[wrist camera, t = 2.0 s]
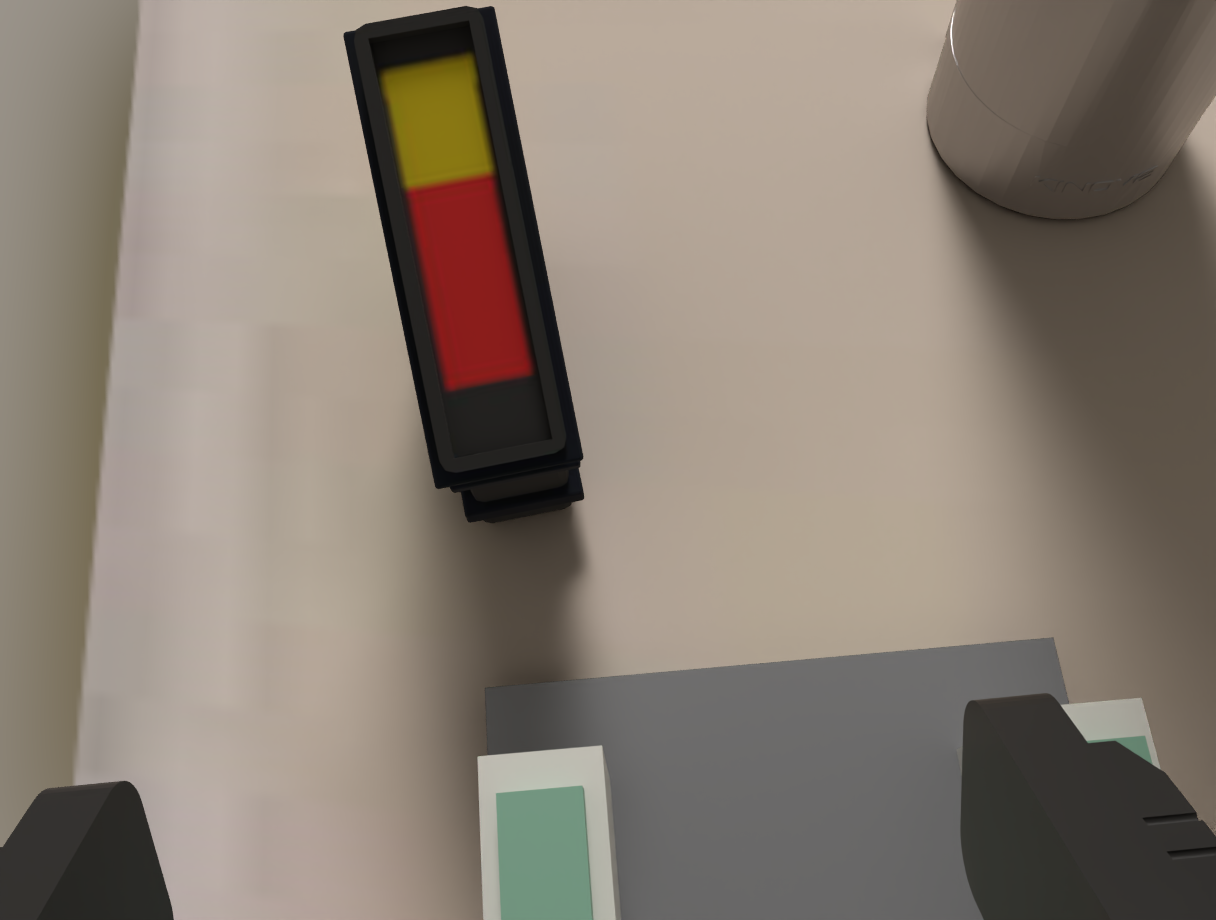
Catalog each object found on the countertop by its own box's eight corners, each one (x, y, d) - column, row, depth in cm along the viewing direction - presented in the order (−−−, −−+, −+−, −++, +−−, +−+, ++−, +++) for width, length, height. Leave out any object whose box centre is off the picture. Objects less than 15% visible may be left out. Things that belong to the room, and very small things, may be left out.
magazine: (509, 142, 42) (491, -14, 27) (579, 495, 43) (600, 533, 28) (408, 161, 42) (333, 14, 27) (480, 516, 42) (445, 565, 28)
